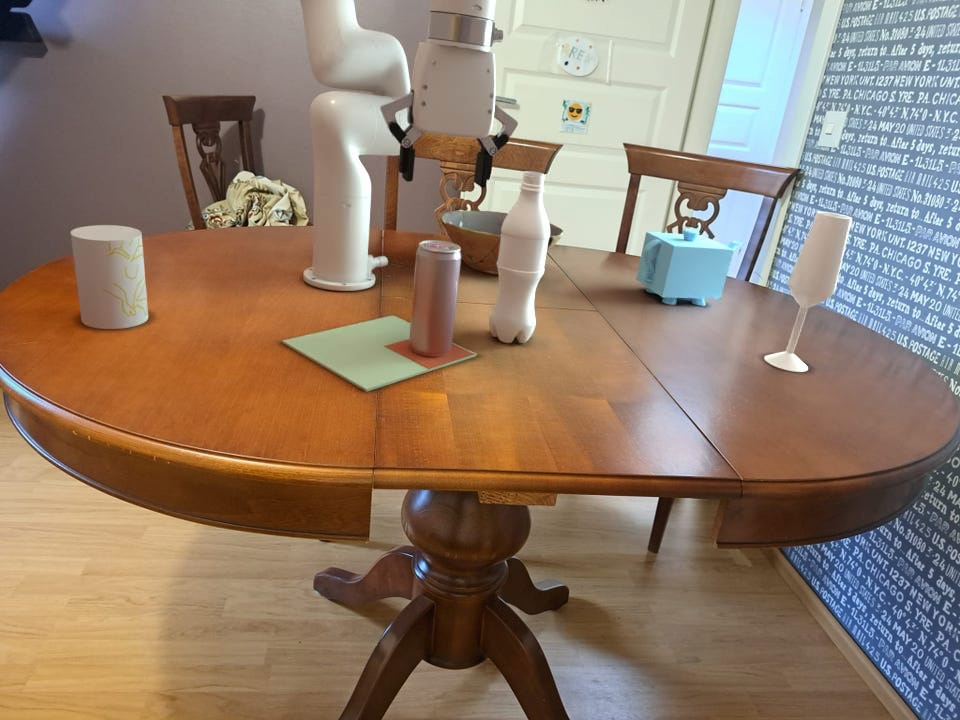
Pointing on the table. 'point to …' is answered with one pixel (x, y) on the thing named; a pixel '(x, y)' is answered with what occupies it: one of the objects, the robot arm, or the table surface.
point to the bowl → (482, 236)
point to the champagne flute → (814, 277)
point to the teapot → (684, 266)
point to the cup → (110, 276)
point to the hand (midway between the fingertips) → (444, 182)
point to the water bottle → (521, 262)
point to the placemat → (372, 352)
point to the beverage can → (434, 297)
